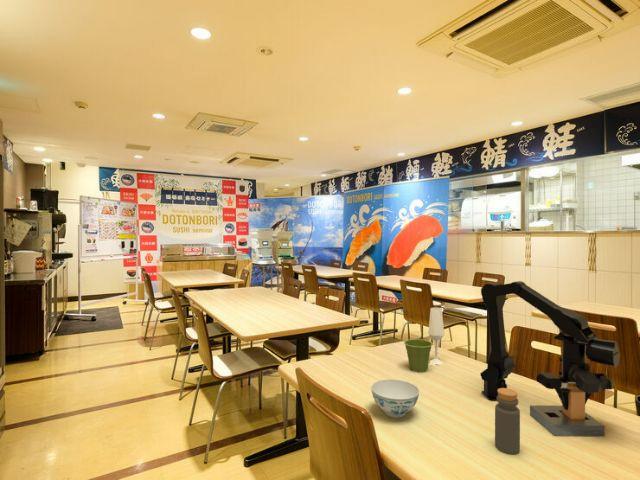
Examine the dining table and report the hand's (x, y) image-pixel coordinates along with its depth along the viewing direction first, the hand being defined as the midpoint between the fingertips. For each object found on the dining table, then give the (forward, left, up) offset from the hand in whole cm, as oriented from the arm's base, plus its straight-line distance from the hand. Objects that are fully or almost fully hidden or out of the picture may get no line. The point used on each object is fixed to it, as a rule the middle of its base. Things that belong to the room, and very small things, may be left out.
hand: (573, 409), depth 107 cm
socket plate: (-2, 0, -5) cm, 5 cm away
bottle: (-25, -12, -5) cm, 29 cm away
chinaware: (-51, +7, -5) cm, 52 cm away
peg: (0, 0, -2) cm, 2 cm away
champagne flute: (-24, +53, -5) cm, 59 cm away
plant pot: (-34, +45, -5) cm, 57 cm away
